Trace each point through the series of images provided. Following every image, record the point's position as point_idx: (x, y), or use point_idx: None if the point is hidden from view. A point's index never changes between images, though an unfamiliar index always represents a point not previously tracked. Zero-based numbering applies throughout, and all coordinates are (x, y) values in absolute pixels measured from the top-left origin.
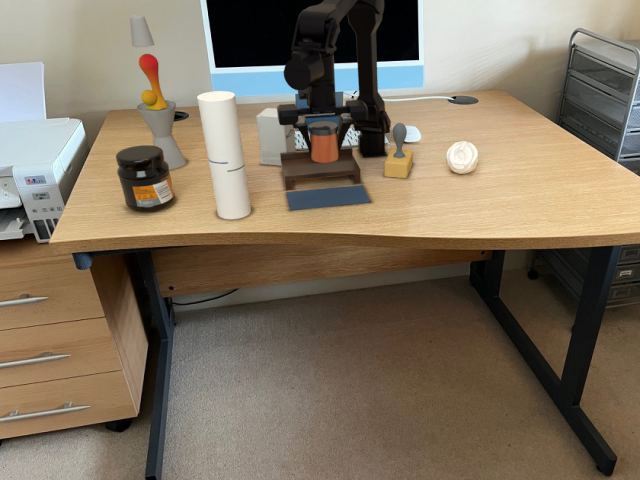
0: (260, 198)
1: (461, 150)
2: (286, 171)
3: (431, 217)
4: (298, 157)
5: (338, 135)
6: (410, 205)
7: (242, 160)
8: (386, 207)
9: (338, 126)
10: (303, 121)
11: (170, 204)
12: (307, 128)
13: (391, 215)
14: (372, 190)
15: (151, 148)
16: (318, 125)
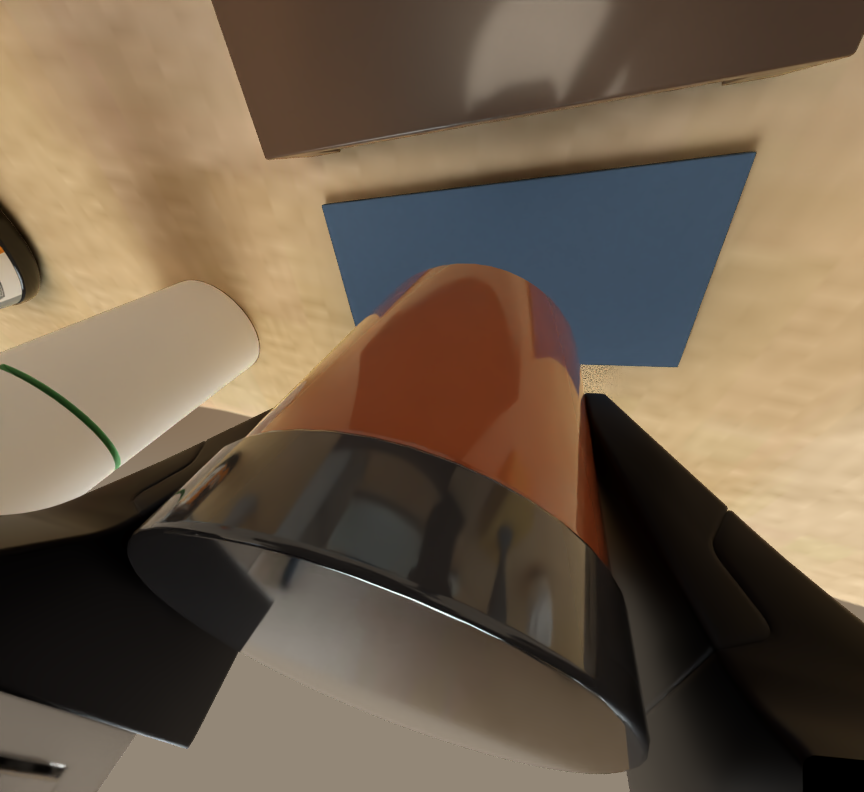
0: (244, 239)
1: None
2: (249, 65)
3: (844, 510)
4: None
5: (616, 542)
6: (850, 423)
7: (87, 469)
8: (722, 412)
9: (693, 654)
10: (94, 779)
11: (33, 266)
12: (213, 696)
13: (699, 463)
14: (781, 224)
15: None
16: (284, 644)
